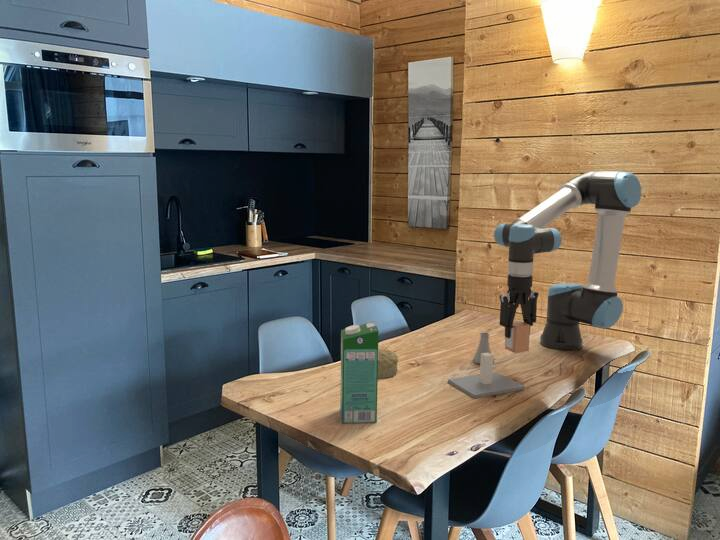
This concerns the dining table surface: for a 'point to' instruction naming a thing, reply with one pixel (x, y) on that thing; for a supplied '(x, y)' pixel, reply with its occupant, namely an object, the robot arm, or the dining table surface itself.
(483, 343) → the flask
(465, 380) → the grey flat base
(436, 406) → the dining table surface
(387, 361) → the decorative object
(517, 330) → the peach square-faced block
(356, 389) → the milk carton
